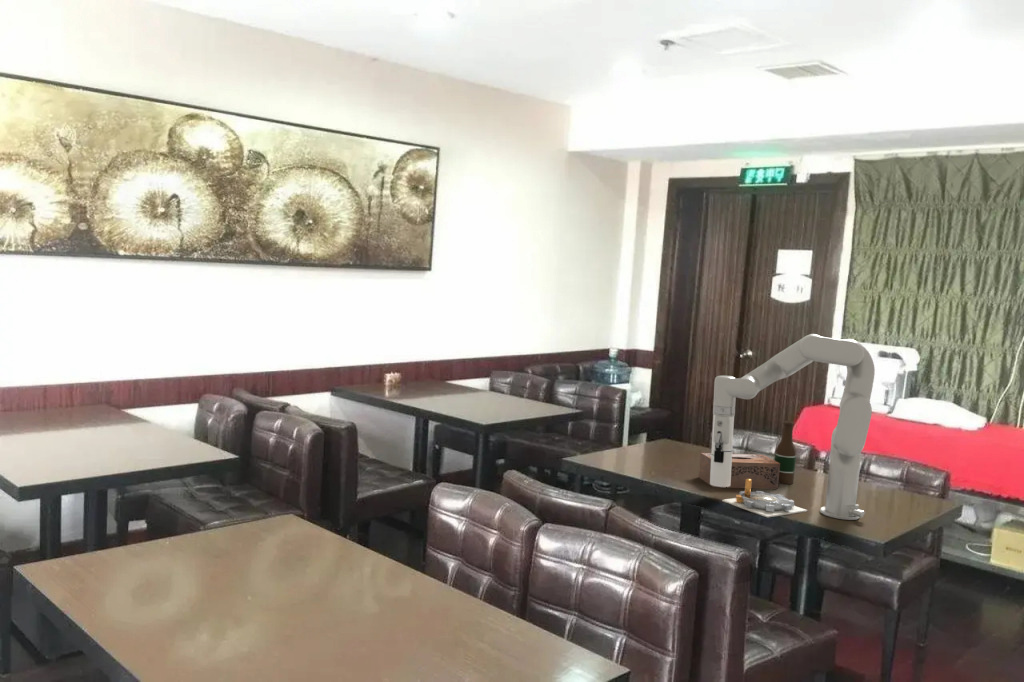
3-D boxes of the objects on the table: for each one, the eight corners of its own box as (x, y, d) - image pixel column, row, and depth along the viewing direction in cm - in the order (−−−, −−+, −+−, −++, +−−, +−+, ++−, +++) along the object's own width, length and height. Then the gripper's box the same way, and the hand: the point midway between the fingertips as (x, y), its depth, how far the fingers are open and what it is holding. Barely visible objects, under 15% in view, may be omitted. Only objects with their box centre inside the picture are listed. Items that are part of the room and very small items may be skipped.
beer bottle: (771, 478, 327) (777, 419, 325) (792, 480, 326) (797, 420, 324) (773, 483, 320) (779, 422, 317) (794, 485, 318) (800, 424, 316)
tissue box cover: (760, 479, 325) (763, 454, 324) (777, 489, 311) (780, 463, 310) (698, 477, 321) (700, 452, 320) (713, 487, 307) (715, 461, 306)
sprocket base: (807, 511, 282) (807, 510, 282) (767, 517, 271) (767, 516, 271) (761, 495, 299) (761, 494, 299) (722, 501, 288) (722, 499, 288)
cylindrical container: (726, 488, 288) (730, 417, 286) (706, 484, 292) (710, 415, 290) (733, 484, 294) (736, 414, 292) (713, 481, 298) (717, 412, 296)
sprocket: (786, 498, 293) (788, 476, 293) (799, 514, 274) (801, 490, 274) (731, 493, 295) (733, 472, 295) (740, 508, 276) (742, 485, 276)
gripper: (728, 415, 281) (726, 466, 283) (740, 408, 297) (737, 457, 298) (706, 412, 285) (704, 463, 286) (719, 406, 300) (717, 454, 301)
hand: (721, 459), depth 292 cm, fingers closed on cylindrical container, 7 cm apart
